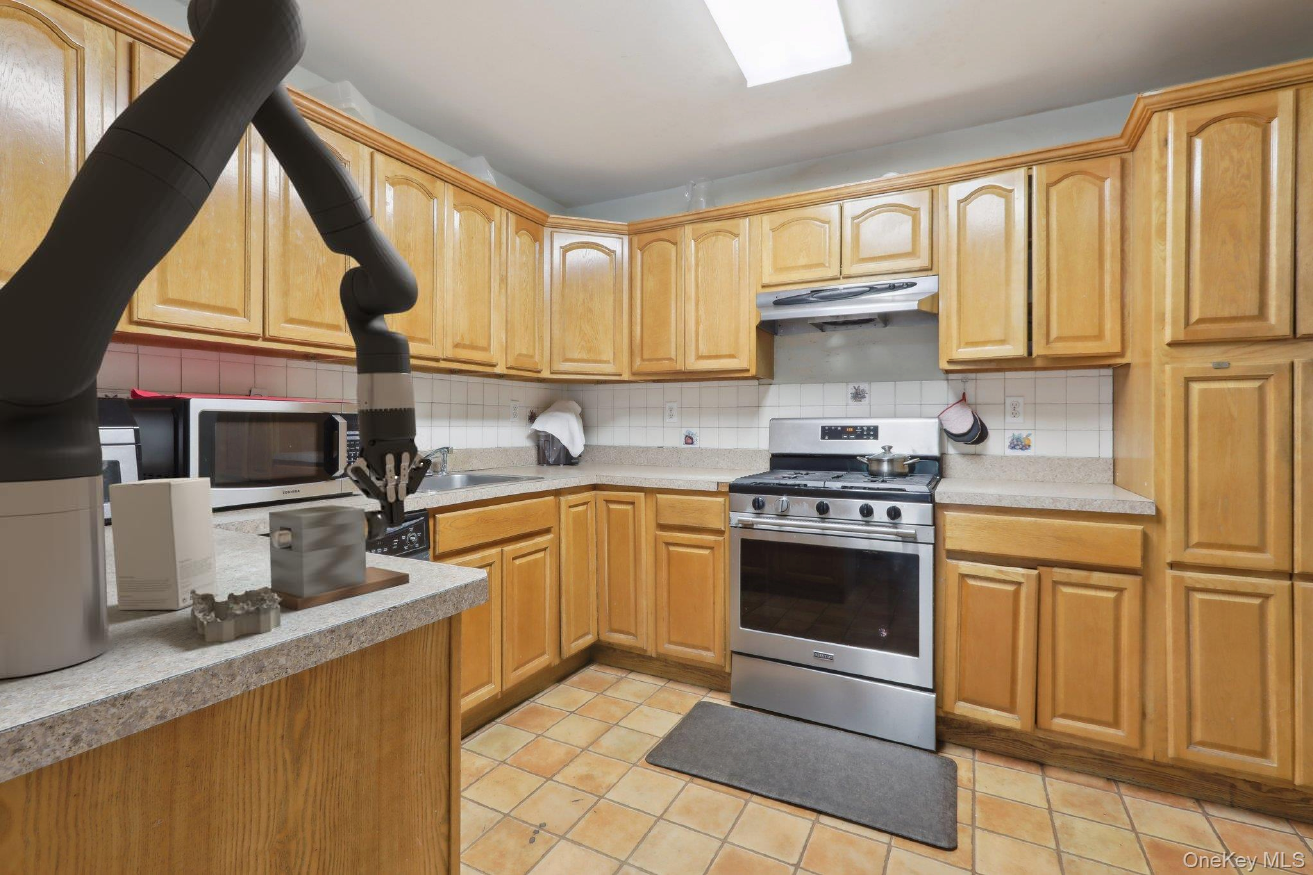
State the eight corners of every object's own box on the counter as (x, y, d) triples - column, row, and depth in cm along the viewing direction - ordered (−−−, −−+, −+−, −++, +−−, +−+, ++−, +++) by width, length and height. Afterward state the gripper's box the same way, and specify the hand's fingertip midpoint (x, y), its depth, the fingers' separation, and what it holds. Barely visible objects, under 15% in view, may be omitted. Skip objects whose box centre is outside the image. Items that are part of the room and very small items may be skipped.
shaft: (286, 559, 75) (285, 523, 75) (268, 556, 77) (267, 520, 77) (388, 541, 86) (387, 509, 86) (370, 538, 89) (369, 507, 88)
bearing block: (297, 610, 74) (295, 518, 73) (261, 599, 79) (258, 513, 78) (409, 582, 86) (407, 503, 86) (371, 574, 91) (369, 499, 91)
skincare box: (219, 597, 80) (215, 476, 80) (175, 612, 74) (170, 481, 73) (160, 596, 81) (156, 477, 81) (111, 611, 75) (106, 482, 74)
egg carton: (187, 625, 70) (186, 589, 70) (265, 611, 75) (264, 577, 75) (201, 649, 62) (199, 608, 62) (287, 631, 67) (286, 593, 67)
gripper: (357, 407, 81) (365, 538, 82) (442, 404, 92) (448, 520, 93) (325, 408, 85) (334, 533, 86) (410, 405, 96) (417, 517, 97)
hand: (393, 526), depth 89 cm, fingers closed
